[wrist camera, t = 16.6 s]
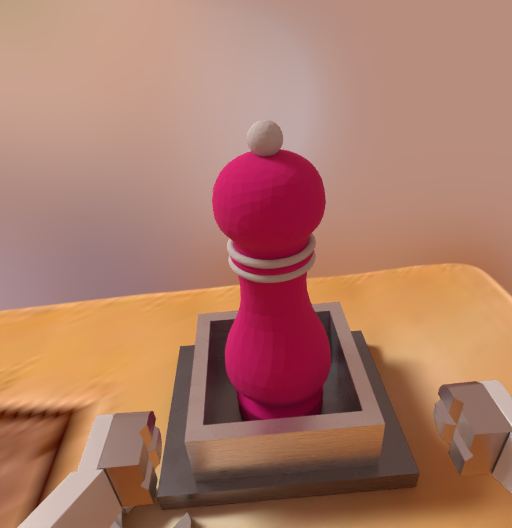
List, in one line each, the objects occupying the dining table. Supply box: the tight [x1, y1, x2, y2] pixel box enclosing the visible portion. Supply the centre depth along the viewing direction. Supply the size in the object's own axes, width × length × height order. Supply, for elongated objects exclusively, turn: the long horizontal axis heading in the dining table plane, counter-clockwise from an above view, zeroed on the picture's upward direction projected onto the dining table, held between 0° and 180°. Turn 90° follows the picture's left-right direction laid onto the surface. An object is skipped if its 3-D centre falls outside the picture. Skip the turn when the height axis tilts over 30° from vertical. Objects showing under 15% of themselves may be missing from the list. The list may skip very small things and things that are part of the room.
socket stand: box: [157, 302, 419, 510], centre depth 29 cm, size 16×13×6 cm
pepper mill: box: [212, 120, 331, 421], centre depth 25 cm, size 7×7×20 cm
